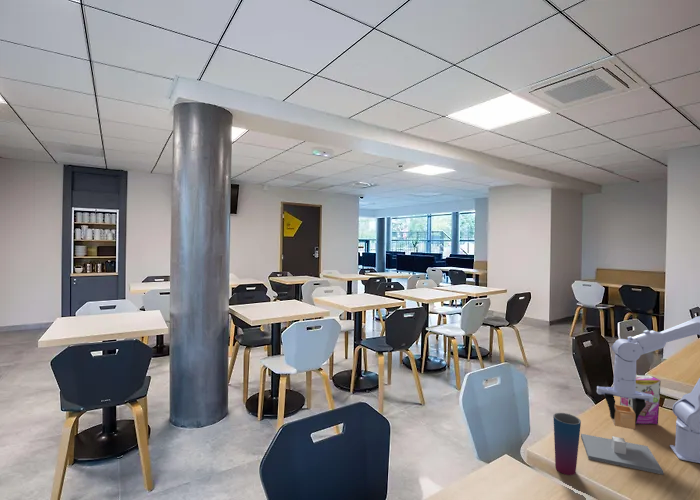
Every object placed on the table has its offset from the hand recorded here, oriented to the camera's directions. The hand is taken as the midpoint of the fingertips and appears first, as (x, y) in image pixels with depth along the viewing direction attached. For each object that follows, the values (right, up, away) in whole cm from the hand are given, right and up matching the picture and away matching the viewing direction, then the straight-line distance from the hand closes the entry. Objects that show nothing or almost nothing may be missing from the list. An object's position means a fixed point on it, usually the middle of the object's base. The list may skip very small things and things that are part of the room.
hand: (623, 419), depth 120 cm
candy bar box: (+18, -8, +16) cm, 25 cm away
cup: (-26, -9, -13) cm, 30 cm away
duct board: (-5, -9, -5) cm, 11 cm away
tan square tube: (-1, -2, -1) cm, 2 cm away
